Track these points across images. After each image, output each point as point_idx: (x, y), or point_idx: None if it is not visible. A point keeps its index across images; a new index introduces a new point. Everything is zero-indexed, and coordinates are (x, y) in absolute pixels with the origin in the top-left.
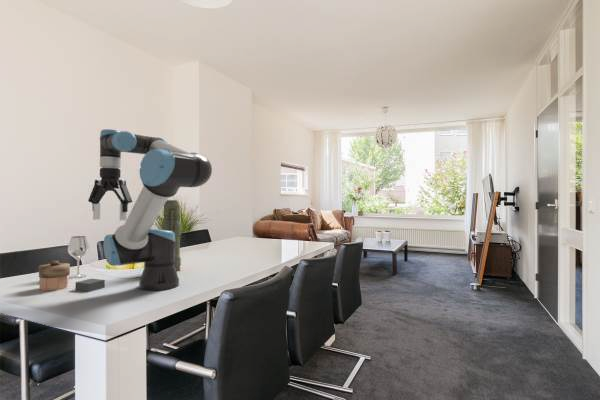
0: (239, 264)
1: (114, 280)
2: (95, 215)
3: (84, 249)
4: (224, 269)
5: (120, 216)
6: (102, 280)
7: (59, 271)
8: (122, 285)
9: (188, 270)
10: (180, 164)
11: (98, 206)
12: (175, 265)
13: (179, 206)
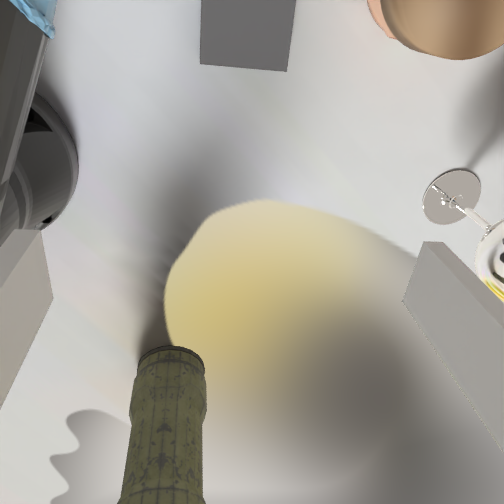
0: (22, 497)
1: (259, 185)
2: (443, 277)
3: (486, 254)
4: (4, 435)
5: (4, 256)
6: (200, 48)
7: None
8: (155, 118)
9: (114, 390)
10: None
11: (495, 400)
12: (136, 379)
13: None
